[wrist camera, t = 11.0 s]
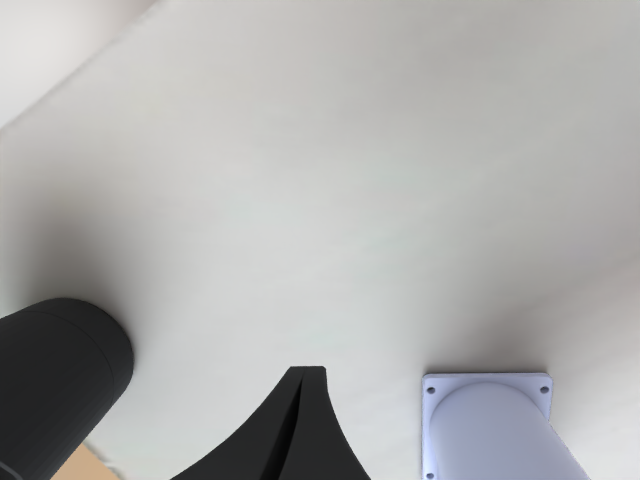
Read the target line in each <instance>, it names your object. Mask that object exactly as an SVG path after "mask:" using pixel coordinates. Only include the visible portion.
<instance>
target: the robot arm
mask: <svg viewBox="0 0 640 480" xmlns="http://www.w3.org/2000/svg"><path fill="white" fill-rule="evenodd" d="M544 386H545V388H544V389H541V388H542V387H544ZM429 387H433V389H432V390H428V388H429ZM552 389H553V379H552V378H551V377H550V376H549V375H548V374H547V373H463V374H427V375H425V376H424V377H423V379H422V480H591V479H590V478H589V477H588V475H587V474H586V473H585V471H584V470H583V468H582V467H581V466H580V464H579V463H578V462H577V460H576V459H575V458H574V456H573V455H572V453H571V452H570V451H569V449H568V448H567V447H566V445H565V444H564V443H563V441H562V440H561V438H560V437H559V436H558V434H557V433H556V432H555V430H554V429H553V428H552V426H551V425H550V423H549V416H550V407H551V398H552ZM428 473H431V474H428ZM170 480H371V479H370V477H369V476H368V475H367V473H366V472H365V470H364V469H363V467H362V465H361V464H360V462H359V461H358V459H357V458H356V456H355V454H354V453H353V451H352V449H351V447H350V446H349V444H348V442H347V440H346V438H345V436H344V434H343V432H342V430H341V428H340V425H339V423H338V421H337V418H336V415H335V413H334V410H333V407H332V404H331V401H330V398H329V394H328V389H327V376H326V369H325V368H324V367H323V366H293V367H290V368H289V369H288V370H287V372H286V373H285V374H284V376H283V377H282V378H281V380H280V381H279V383H278V384H277V385H276V386H275V388H274V389H273V390H272V392H271V393H270V394H269V395H268V396H267V398H266V399H265V400H264V401H263V403H262V404H261V405H260V406H259V407H258V408H257V409H256V410H255V412H254V413H253V414H252V415H251V416H250V417H249V418H248V419H247V420H246V421H245V422H244V423H243V424H242V425H241V426H240V427H239V428H238V429H237V430H236V431H235V432H234V433H233V434H232V435H231V436H230V437H229V438H227V439H226V440H225V441H224V442H223V443H221V444H220V445H219V446H217V447H216V448H215V449H214V450H212V451H211V452H210V453H208V454H207V455H206V456H205V457H203V458H202V459H201V460H199V461H198V462H196V463H195V464H193V465H192V466H190V467H189V468H187V469H186V470H184V471H183V472H181V473H180V474H178V475H176V476H175V477H173V478H172V479H170Z"/></svg>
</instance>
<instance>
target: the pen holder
mask: <svg viewBox="0 0 640 480" xmlns="http://www.w3.org/2000/svg"><path fill="white" fill-rule="evenodd" d="M132 373H133V353H132V349H131V346H130V343H129V340H128V338H127V336H126V334H125V333H124V331H123V330H122V328H121V327H120V326H119V325H118V324H117V322H116V321H115V320H114V319H113V318H112V317H110V316H109V315H108V314H107V313H105V312H104V311H102V310H101V309H99V308H97V307H95V306H93V305H91V304H89V303H86V302H83V301H79V300H75V299H68V298H55V299H49V300H45V301H42V302H39V303H36V304H34V305H32V306H29V307H27V308H24V309H22V310H20V311H17V312H15V313H13V314H10V315H8V316H5V317H3V318H1V319H0V480H50V479H51V477H52V476H53V475H54V474H55V473H56V472H57V470H59V468H60V467H61V466H62V465H63V464H64V462H65V461H66V460H67V459H68V458H69V457H70V455H71V454H72V453H73V452H74V451H75V449H76V448H77V447H78V446H79V445H80V444H81V443H82V441H83V440H84V439H85V438H86V437H87V436H88V434H89V433H90V432H91V431H92V430H93V428H94V427H95V426H96V425H97V424H98V423H99V421H100V420H101V419H102V418H103V417H104V416H105V414H106V413H107V412H108V411H109V409H110V408H111V407H112V406H113V405H114V403H115V402H116V401H117V400H118V399H119V397H120V396H121V395H122V394H123V392H124V391H125V390H126V388H127V386H128V385H129V383H130V380H131V378H132Z"/></svg>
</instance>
